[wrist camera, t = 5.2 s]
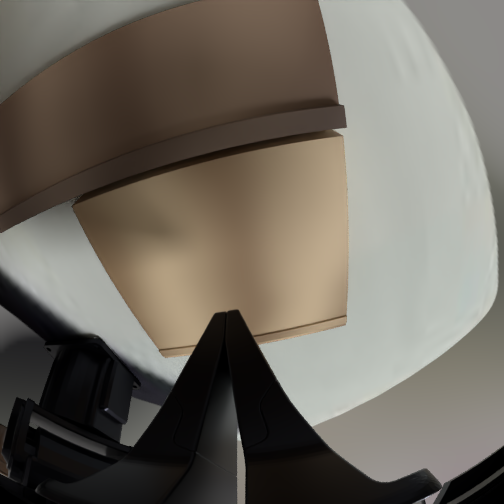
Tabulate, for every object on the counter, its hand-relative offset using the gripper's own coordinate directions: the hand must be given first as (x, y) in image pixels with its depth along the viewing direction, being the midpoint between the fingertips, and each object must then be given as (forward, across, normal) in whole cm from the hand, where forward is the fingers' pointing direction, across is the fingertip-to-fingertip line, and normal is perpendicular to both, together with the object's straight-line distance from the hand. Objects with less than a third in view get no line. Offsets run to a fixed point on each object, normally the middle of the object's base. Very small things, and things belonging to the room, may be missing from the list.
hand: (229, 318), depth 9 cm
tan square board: (+5, 0, +1) cm, 5 cm away
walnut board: (+5, +3, -8) cm, 9 cm away
